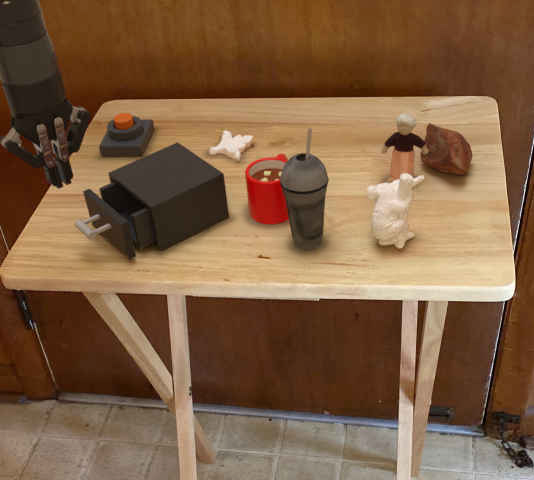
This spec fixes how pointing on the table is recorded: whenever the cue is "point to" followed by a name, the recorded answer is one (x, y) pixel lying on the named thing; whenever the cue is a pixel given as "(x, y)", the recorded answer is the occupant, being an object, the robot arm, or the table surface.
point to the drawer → (118, 219)
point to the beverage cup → (305, 197)
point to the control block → (127, 138)
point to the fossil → (446, 150)
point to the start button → (123, 121)
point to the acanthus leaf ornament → (232, 145)
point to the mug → (266, 190)
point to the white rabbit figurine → (392, 210)
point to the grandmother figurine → (403, 147)
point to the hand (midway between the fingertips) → (62, 183)
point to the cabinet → (176, 192)
